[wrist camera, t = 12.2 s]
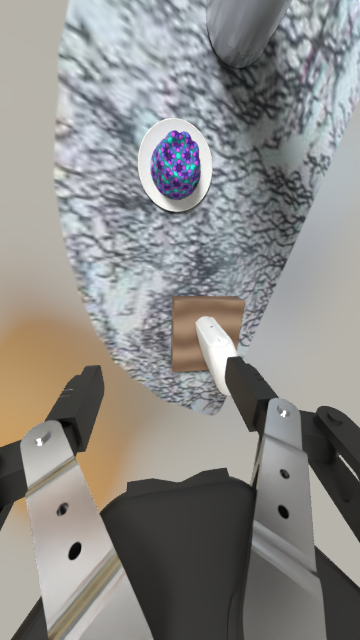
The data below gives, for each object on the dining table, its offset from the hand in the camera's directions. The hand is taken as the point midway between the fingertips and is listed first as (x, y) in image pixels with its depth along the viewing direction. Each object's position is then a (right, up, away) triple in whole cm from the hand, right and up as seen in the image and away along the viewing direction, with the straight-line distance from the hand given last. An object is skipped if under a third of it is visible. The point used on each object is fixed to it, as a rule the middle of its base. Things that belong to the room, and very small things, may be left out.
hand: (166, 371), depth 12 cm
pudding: (0, +28, +18) cm, 34 cm away
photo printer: (+7, 0, +26) cm, 27 cm away
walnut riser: (+6, +1, +30) cm, 30 cm away
